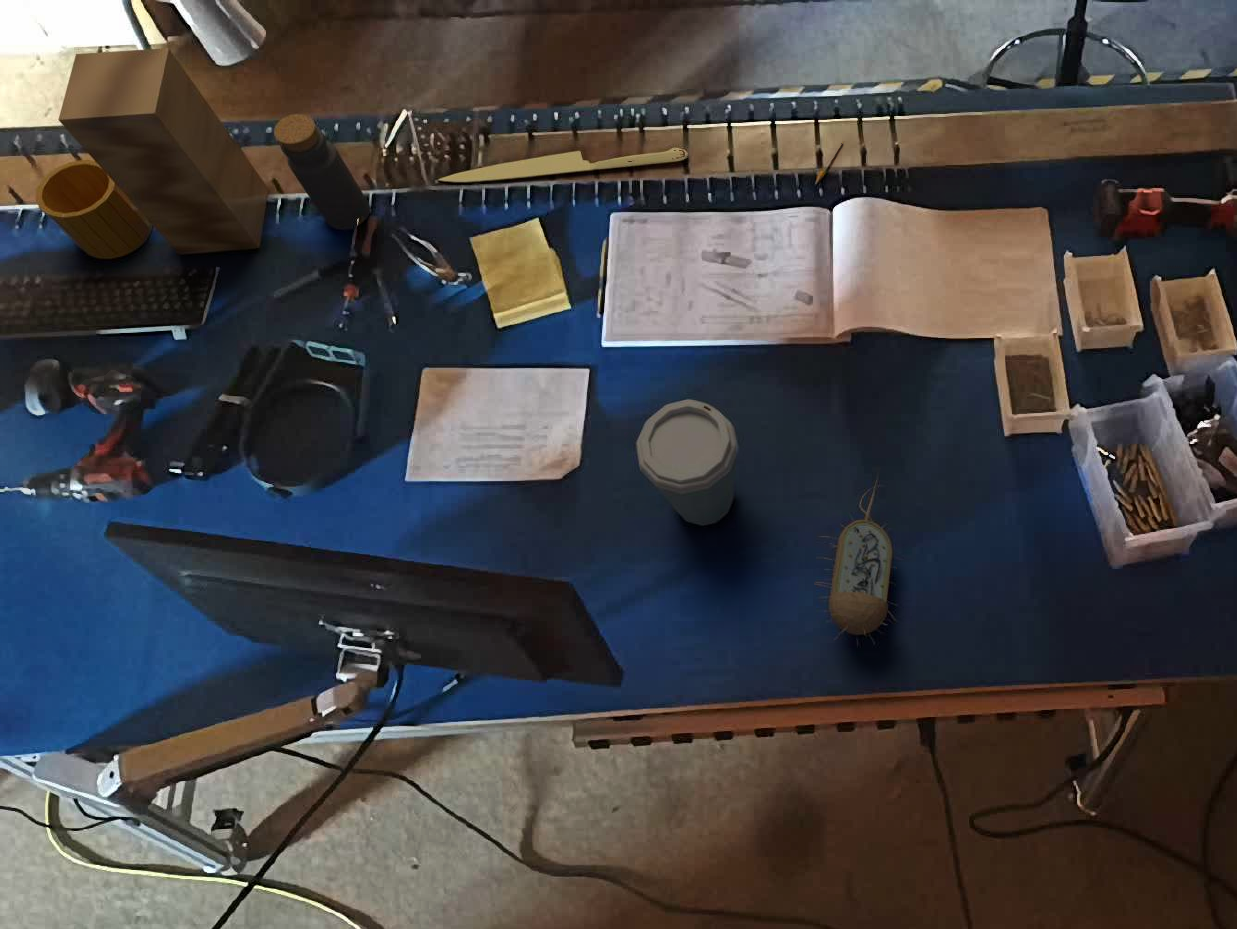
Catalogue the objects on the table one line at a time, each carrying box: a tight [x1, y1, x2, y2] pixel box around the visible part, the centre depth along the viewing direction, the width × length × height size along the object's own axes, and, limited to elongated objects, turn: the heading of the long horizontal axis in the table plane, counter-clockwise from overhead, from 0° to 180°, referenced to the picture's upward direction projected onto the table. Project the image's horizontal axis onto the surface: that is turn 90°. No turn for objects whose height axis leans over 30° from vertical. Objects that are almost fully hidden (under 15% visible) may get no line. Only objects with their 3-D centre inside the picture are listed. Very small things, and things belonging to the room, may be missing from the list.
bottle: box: [273, 113, 371, 231], centre depth 133 cm, size 6×6×15 cm
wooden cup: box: [35, 159, 154, 260], centre depth 134 cm, size 9×9×8 cm
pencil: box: [814, 170, 827, 186], centre depth 146 cm, size 1×8×1 cm, turn 157°
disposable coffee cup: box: [635, 398, 739, 526], centre depth 117 cm, size 11×11×15 cm
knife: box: [437, 147, 689, 183], centre depth 144 cm, size 1×34×5 cm
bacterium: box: [815, 467, 903, 647], centre depth 116 cm, size 11×20×10 cm, turn 174°
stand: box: [58, 47, 270, 255], centre depth 128 cm, size 10×10×23 cm
